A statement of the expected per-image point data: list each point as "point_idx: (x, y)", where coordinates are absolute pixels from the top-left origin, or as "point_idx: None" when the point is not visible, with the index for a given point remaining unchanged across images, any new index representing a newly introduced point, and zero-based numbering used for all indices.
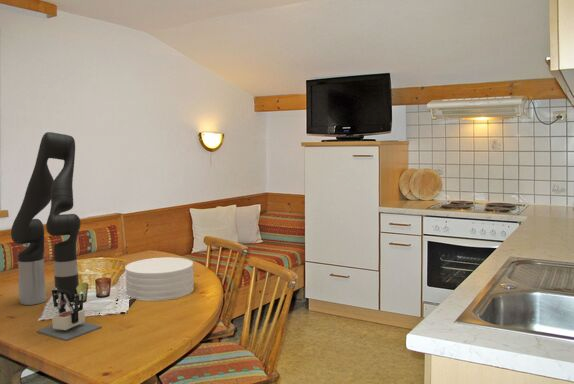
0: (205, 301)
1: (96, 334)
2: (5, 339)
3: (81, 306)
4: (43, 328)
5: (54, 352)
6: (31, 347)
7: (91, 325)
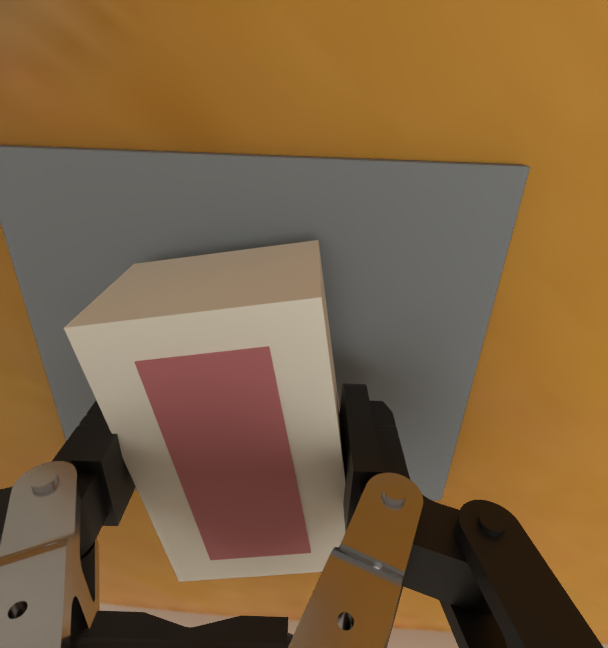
0: None
1: (584, 322)
2: None
3: (536, 585)
4: None
5: None
6: None
7: (396, 207)
